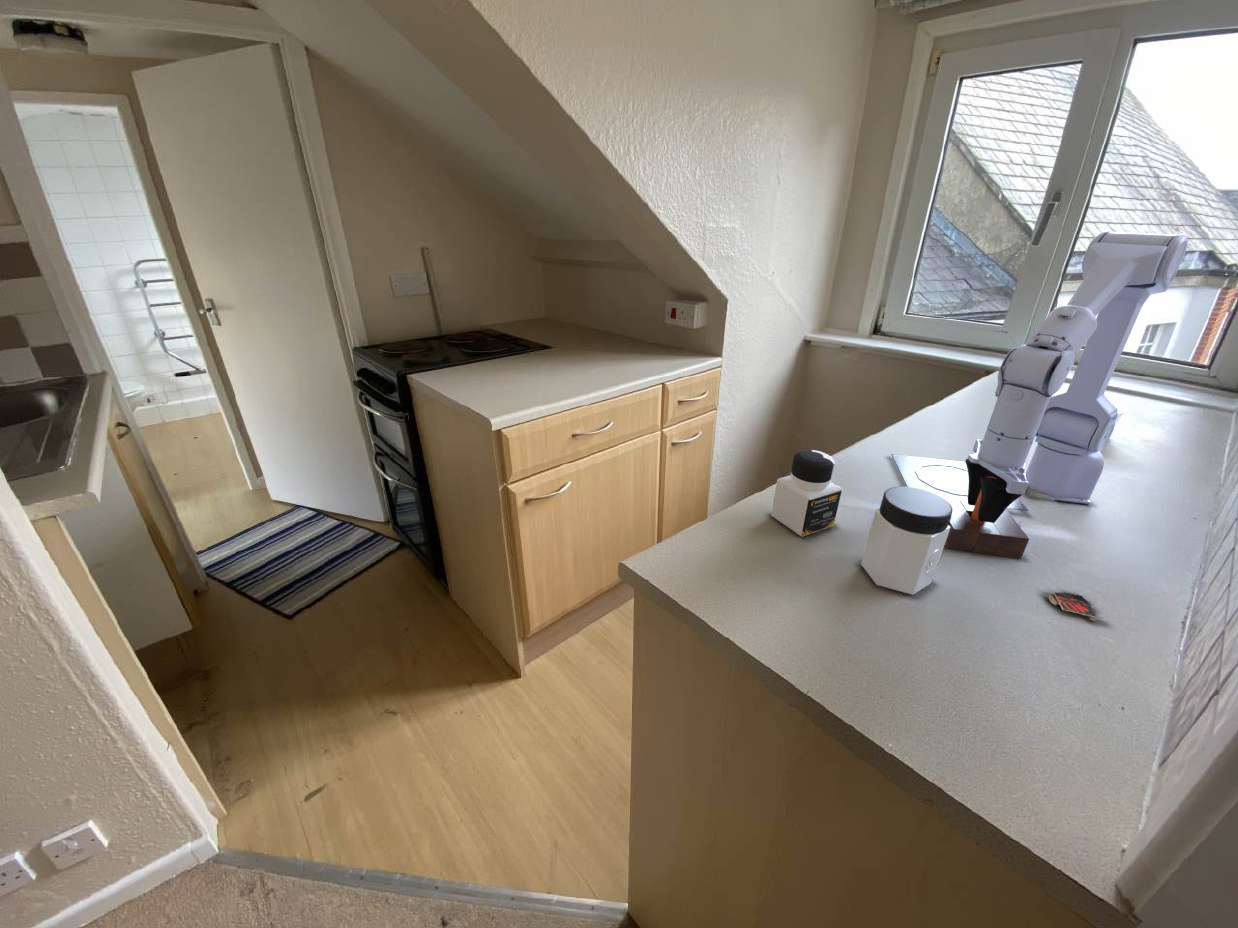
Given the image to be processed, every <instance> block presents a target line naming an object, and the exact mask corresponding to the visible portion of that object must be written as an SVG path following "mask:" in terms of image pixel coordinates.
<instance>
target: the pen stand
mask: <svg viewBox="0 0 1238 928" xmlns="http://www.w3.org/2000/svg"><path fill="white" fill-rule="evenodd" d="M944 499H945V500H946V501H948V502H949V503H950V505H951V506H952V509H953V511H952V516H951V520H950V523H949V524H948V525H949V526H950V527H951V528H950V531H949V534H948V537H947V539H946V542H945V545H944V546H945V547H946V549H950V550H957V551H966V552H973V553H978V554H985V555H986V554H987V555H993V556H1000V557H1006V558H1015V559H1022V557H1023V555H1024V553H1025V551H1026V550H1025V549H1026V548H1027V546H1028V544H1029V542H1030V538H1029V536H1028V535H1027V534H1026V532H1025V531H1024V530H1023V528H1022V527H1021V526H1020V525H1019V524H1018V522H1017V521H1016V519H1015V518H1014V517H1013V516H1012V515H1011V513H1010V512H1009V511H1008V509H1007V508H1006V509H1005V511H1004V512H1003V513H1002V514H1001V515H1000V517H999V518H998V519H997V520H996V521H995V523H990V522H983V521H977V520H972V519H971V515H972V512H973V510H974V507H975V506H973V505H969V504H968V501H966V500H958V499H949V498H944Z"/></svg>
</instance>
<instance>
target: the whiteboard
mask: <svg viewBox="0 0 1238 928" xmlns="http://www.w3.org/2000/svg"><path fill="white" fill-rule="evenodd" d="M891 456H892V458H893V461H894V463H895V465H896V466H897V469H898V471H899V473H900V475H901V477H902V479H903V481H904V483H905V485H906V487H914V488H919V489H923V490H926V491H929V492H932V493H934V494H937V495H939V496H940V497H942V498H949V499H958V500H966V501H968V483H969V480H968V470H967V466H966V463H965V461H959V460H951V459H950V460H949V459H939V458H931V457H922V456H912V455H905V454H895V453H891ZM1006 509H1011V510H1016V511H1017V510H1018V511H1025V512H1029V509H1028V507H1026V505H1025V504H1024V503H1023V502H1022V501H1021V500H1020V499H1019V498H1017V499H1016V500H1015V501H1013V502H1012V503H1011V504H1010V505H1009V506H1008V507H1007V508H1006Z"/></svg>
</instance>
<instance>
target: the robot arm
mask: <svg viewBox="0 0 1238 928" xmlns="http://www.w3.org/2000/svg"><path fill="white" fill-rule="evenodd" d="M1188 244H1189V241H1188V239H1187V237H1186V234H1184V233H1178V234H1165V233H1164V234H1163V233H1162V234H1161V233H1160V234H1159V233H1137V232H1136V233H1135V232H1112V231H1111V232H1110V231H1109V230H1103V231H1101V232H1100V233H1098V234H1097V235H1096V236H1094V237H1093V239H1092V240H1091V241H1090V242H1089V245H1088V246H1087V248H1086V250H1085V253H1084V255H1083V258H1082V263H1081V270H1082V274H1081V277H1082V278H1083V279H1082V281H1081V283H1080V284H1079V285H1078V287H1077V288H1076V290H1075V292H1074V293H1073V295H1072V296H1071V298H1070V299H1069V301H1068V303H1067V304H1066V305H1061V306H1058V307H1056V308H1054V309H1052V310H1051V311H1050V312H1049V313H1048V315H1047V316H1046V317H1045V319H1044V320H1043V321H1042V322H1041V324H1040V325H1039V326H1038V327H1037V328H1036V329H1035V331H1034V332H1033V333H1032V334H1031V335H1030V337H1029V338H1028V340H1026V342H1025V343H1024V344H1021V345H1020V346H1018V347H1017V346H1016V347H1012V348H1011V349H1010V350H1009V351H1008V352H1007V354H1006V355H1005V357H1004V359H1003V360H1002V362H1001V365H1000V366H999V369H998V374H997V387H996V389H995V392H994V397H996V400H995V401H996V402H995V404H994V407H993V410H992V413H991V416H990V418H989V422H988V423H987V424H988V425H987V427H986V430H985V432H984V435H983V439H975V442H974V444H973V447H972V451H973V453H968V455H967V458H966V459H965V461H964V462H965V463H966V466H967V470H968V480H969V483H968V504H969V505H973V506H975V504H976V501H977V499H978V496H979V493H980V490H981V502H980V506H979V511H978V519H979V521H983V522H990V523H995V521H996V520H997V519H998V518H999V517H1000V515H1001V514H1002V513H1003V512H1004V511H1005V509H1006V510H1007V509H1008V508H1007V507H1008V506H1009V505H1010V504H1011V503H1012V502H1013V501H1015V500H1016V499H1017V498H1018V499H1019V498H1021V497H1022V496H1024V495H1026V494H1027V492H1028V490H1029V489H1028V488H1030V489H1032V490H1034V491H1036V492H1039V493H1042V494H1046V495H1049V496H1050V497H1051V498H1052V499H1053V501H1058V502H1059V501H1060V502H1069V503H1077V504H1084V505H1090V504H1091V503H1092V501H1091V500H1090V498H1091V496H1092V494H1093V492H1094V490H1095V488H1096V486H1097V484H1098V481H1099V479H1100V477H1101V474H1102V473H1103V471H1104V465H1105V459H1104V455H1103V454H1102V452H1101V451H1102V450H1103V449H1104V447H1105V446H1106V445H1107V443H1108V442H1109V440H1110V438H1111V436H1112V434H1113V432H1114V430H1115V428H1114V426H1115V421H1116V418H1117V416H1118V413H1117V412H1118V409H1117V408H1118V407H1116V406H1115V405H1114V404H1113V403H1112V402H1111V401H1110V400H1109V399H1108V398H1107V397H1106V396H1105V392H1106V390H1107V387H1108V385H1109V383H1110V381H1111V378H1112V377H1113V374H1114V371H1115V369H1116V367H1117V365H1118V362H1119V360H1120V358H1121V355H1122V354H1123V351H1124V349H1125V346H1126V344H1127V342H1128V340H1129V337H1130V335H1131V332H1132V330H1133V329H1134V326H1135V323H1136V321H1137V320H1138V317H1139V314H1140V313H1141V310H1142V307H1143V306H1144V305H1145V303H1146V302H1147V301H1148V299H1149V298H1150V296H1151V295H1155V294H1161V293H1166V291H1167V290H1168V288H1169V287H1170V286H1171V285H1172V283H1173V282H1174V279H1175V277H1176V275H1177V272H1178V270H1179V268H1180V266H1181V264H1182V262H1183V260H1184V257H1185V255H1186V253H1187V248H1188ZM1082 348H1083V351H1082V353H1081V356H1080V358H1079V361H1078V362H1077V366H1076V368H1075V370H1074V373H1073V375H1072V377H1071V380H1070V383H1069V385H1068V388H1067V389H1066V390H1063V391H1060V389H1061V388H1062V386H1063V385H1064V383H1065V381H1066V380H1067V377H1068V375H1069V373H1070V371H1071V369H1072V368H1073V366H1074V364H1075V357H1076V356H1077V355H1078V353H1079V352H1080V351H1081V349H1082ZM1058 391H1059V392H1058ZM1034 442H1035V443H1037V444H1036V446H1035V448H1034V452H1033V454H1032V457H1031V459H1030V461H1029V463H1028V467H1027V466H1026V465H1027V464H1026V461H1027V458H1028V456H1029V454H1030V450H1031V448H1032V446H1033V443H1034ZM990 477H995V478H996V479H995V478H990Z"/></svg>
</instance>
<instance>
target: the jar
mask: <svg viewBox="0 0 1238 928" xmlns="http://www.w3.org/2000/svg"><path fill="white" fill-rule="evenodd" d="M880 502H881V503H880V505H879V508H877V509H875V511H874V515H873V518H872V522H871V526H870V530H869V533H868V538H867V541H866V544H865V548H864V552H863V556H862V559H861V563H860V566H861V567H862V568H863V569H864V570H865V572H866V573H867V575H868V576H869V577H870V578H871V580H872V581H873V583H874V584H875V585H876V586H877V587H882V588H885V589H886V588H887V589H890V590H893V591H896V592H897V591H898V592H901V593H904V594H908V595H910V596H911V595H912V596H914V595H916V594H917V593H918V592H920V591H922V590H923V589H924V588H926V587H928V586H929V585H930V584H932V582H933V580H934V577H935V573H936V570H937V567H938V565H939V562H940V559H941V556H942V553H943V550H944V548H945V546H946V545H945V542H946V539H947V537H948V534H949V531H950V528H951V527H950V526H949V525H948V524H949V523H950V520H951V516H952V511H953V509H952V506H951V505H950V503H949V502H948V501H946V500H945V499H944V498H942V497H940V496H939V495H937V494H934V493H932V492H929V491H926V490H923V489H919V488H914V487H907V486H893V487H890V488H888V489H886V490H885V491H884V492H883V494H882V499H881V501H880Z"/></svg>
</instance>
